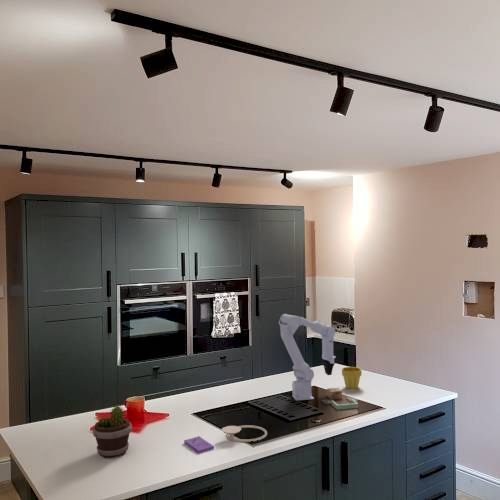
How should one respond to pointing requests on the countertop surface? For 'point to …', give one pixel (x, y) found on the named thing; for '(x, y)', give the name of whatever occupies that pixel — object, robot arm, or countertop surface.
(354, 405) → the green u-shaped piece
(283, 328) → the robot arm
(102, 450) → the flowerpot
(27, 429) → the countertop surface
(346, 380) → the plant pot
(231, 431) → the hand towel holder
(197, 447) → the sponges
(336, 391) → the walnut block
